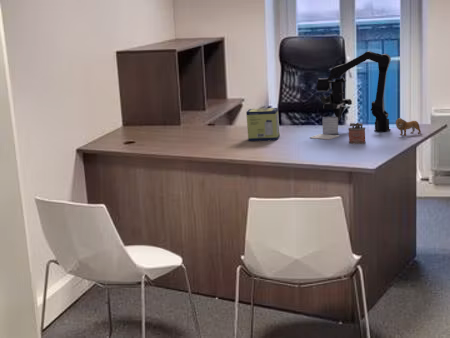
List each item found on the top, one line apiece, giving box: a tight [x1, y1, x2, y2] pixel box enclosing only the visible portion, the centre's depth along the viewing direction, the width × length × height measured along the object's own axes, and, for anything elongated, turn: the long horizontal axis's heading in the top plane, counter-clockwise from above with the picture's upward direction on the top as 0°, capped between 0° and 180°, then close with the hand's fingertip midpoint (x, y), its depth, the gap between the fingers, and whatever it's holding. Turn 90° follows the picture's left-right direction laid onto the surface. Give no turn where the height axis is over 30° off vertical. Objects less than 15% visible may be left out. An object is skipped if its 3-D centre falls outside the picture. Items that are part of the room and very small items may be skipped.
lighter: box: [347, 122, 367, 145], centre depth 345 cm, size 8×3×10 cm, turn 71°
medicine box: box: [322, 116, 339, 135], centre depth 374 cm, size 8×4×9 cm, turn 84°
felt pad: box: [309, 133, 340, 141], centre depth 368 cm, size 12×10×1 cm
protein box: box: [245, 107, 281, 142], centre depth 374 cm, size 10×16×16 cm
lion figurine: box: [395, 117, 422, 137], centre depth 358 cm, size 15×5×9 cm, turn 113°
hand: (338, 120), depth 379 cm, fingers closed
